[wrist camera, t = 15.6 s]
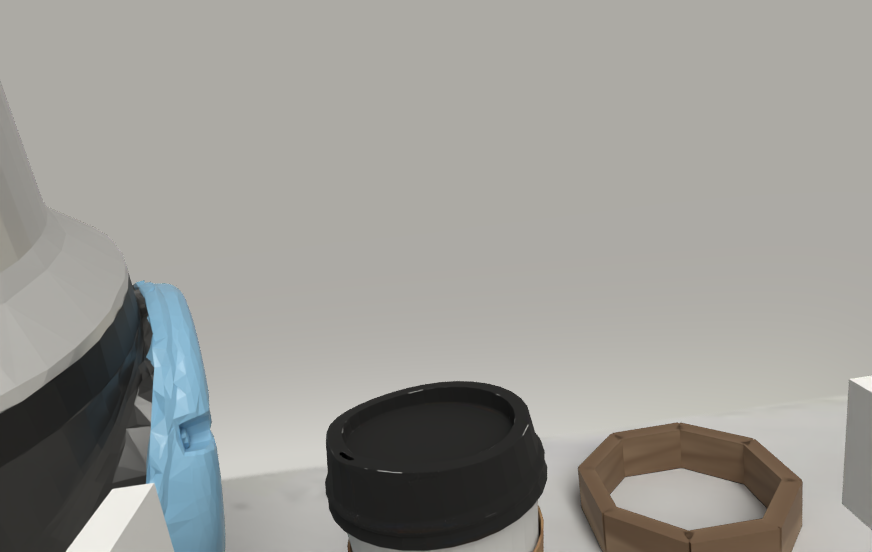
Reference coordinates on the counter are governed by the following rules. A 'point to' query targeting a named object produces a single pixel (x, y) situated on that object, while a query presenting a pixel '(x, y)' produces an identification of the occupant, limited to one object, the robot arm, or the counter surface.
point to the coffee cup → (437, 471)
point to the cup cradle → (702, 452)
